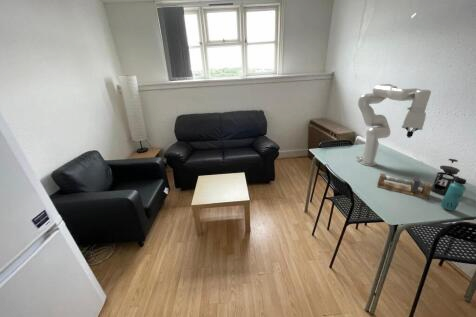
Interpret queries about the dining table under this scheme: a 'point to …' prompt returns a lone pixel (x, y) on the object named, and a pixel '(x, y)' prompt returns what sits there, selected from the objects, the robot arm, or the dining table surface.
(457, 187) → the beverage bottle
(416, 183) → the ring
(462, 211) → the dining table surface
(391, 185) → the pipe stand
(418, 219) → the dining table surface
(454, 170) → the french press
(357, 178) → the dining table surface
